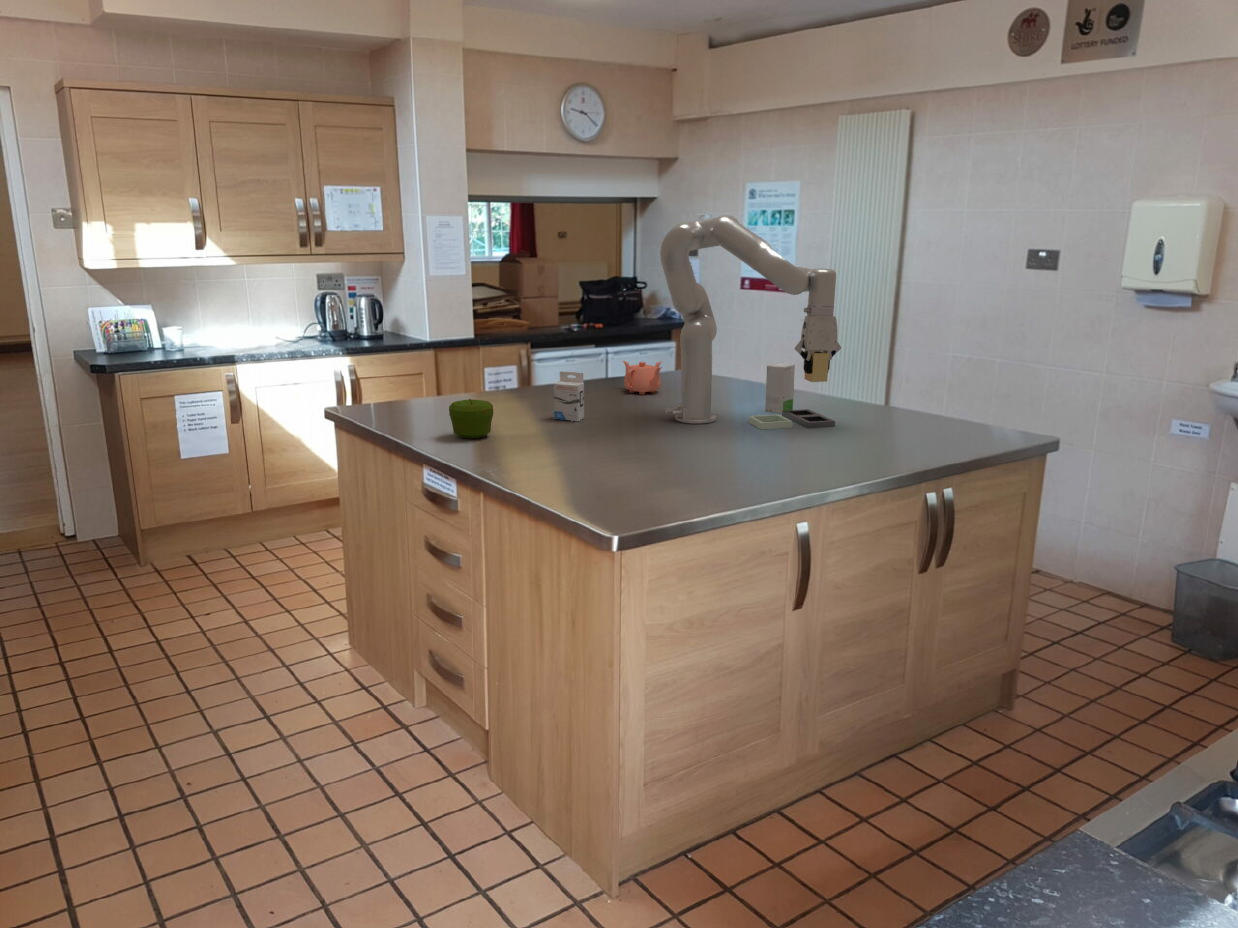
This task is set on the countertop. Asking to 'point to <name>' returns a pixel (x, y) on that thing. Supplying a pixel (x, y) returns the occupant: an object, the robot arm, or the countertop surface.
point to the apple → (471, 418)
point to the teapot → (642, 377)
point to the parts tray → (770, 421)
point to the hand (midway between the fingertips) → (816, 372)
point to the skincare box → (779, 387)
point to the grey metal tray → (808, 418)
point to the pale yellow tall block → (818, 367)
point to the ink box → (569, 397)
